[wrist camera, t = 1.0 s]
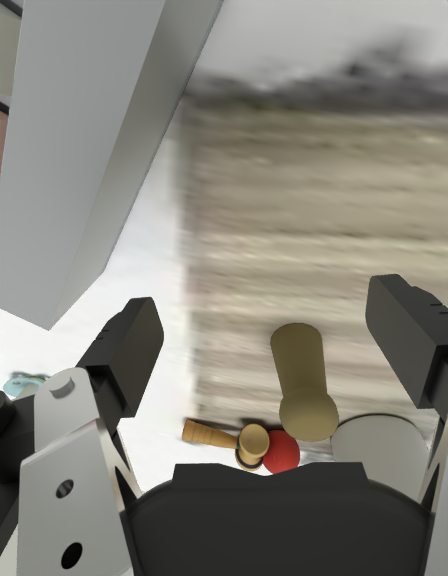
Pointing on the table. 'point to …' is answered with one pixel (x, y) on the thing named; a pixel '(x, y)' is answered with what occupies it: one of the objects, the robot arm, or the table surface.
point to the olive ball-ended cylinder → (303, 383)
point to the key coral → (3, 133)
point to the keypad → (84, 136)
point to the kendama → (250, 445)
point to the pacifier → (22, 386)
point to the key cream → (8, 48)
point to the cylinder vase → (384, 451)
